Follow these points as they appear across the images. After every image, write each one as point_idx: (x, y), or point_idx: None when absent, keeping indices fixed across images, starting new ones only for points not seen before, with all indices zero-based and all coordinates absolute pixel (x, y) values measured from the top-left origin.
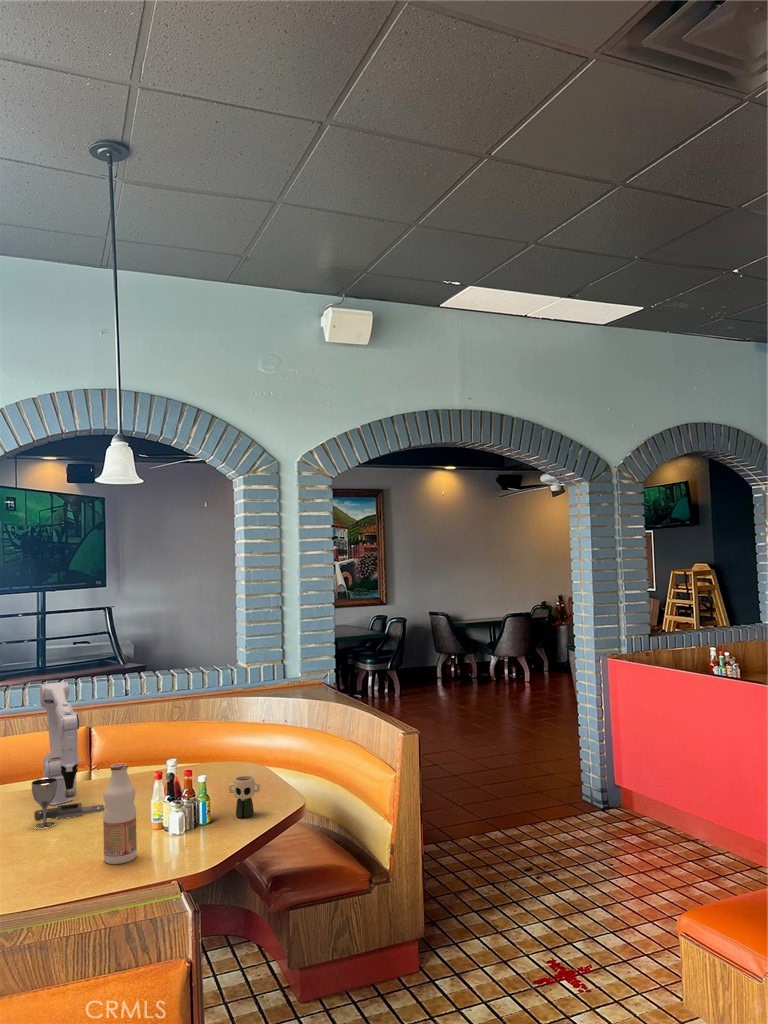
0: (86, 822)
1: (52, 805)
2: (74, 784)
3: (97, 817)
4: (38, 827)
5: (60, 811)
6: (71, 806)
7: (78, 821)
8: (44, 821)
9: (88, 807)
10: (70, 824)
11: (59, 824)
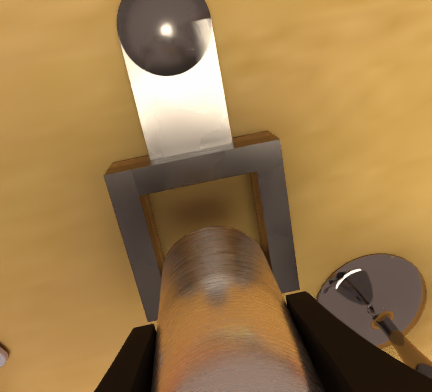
0: (420, 71)
1: (7, 357)
2: (275, 303)
3: (342, 5)
4: (405, 326)
5: (284, 275)
6: (150, 233)
7: (376, 131)
8: (391, 320)
9: (165, 106)
10: (413, 170)
11: (383, 234)
